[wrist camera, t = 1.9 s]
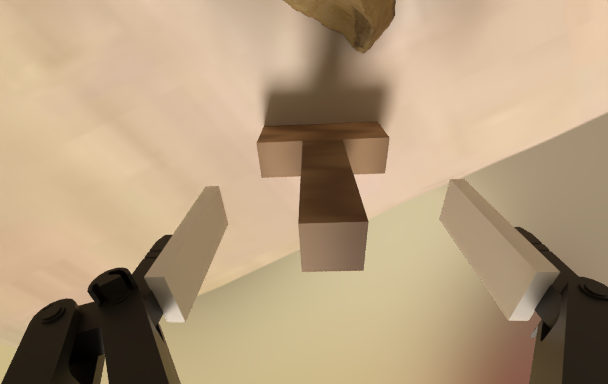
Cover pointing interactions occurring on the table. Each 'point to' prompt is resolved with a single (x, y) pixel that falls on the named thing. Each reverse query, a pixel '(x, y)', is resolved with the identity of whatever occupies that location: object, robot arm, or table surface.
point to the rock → (351, 18)
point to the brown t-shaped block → (327, 185)
